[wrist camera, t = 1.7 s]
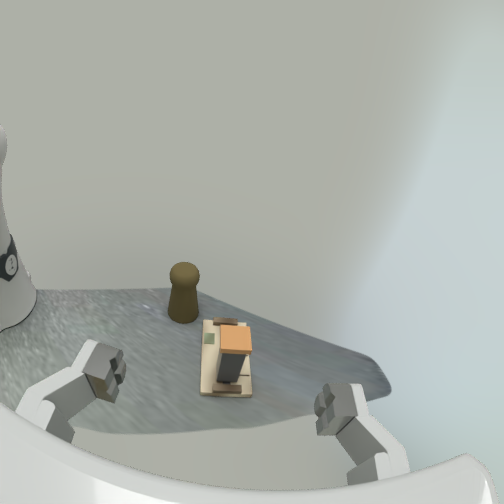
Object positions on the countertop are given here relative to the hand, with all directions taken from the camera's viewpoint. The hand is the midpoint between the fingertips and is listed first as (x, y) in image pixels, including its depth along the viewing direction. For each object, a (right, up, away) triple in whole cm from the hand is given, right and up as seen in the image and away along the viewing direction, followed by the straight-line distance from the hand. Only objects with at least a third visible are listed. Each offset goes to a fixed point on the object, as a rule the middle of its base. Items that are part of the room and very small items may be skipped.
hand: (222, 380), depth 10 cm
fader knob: (-3, -14, +31) cm, 34 cm away
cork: (-12, -7, +42) cm, 44 cm away
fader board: (-4, -13, +35) cm, 38 cm away
